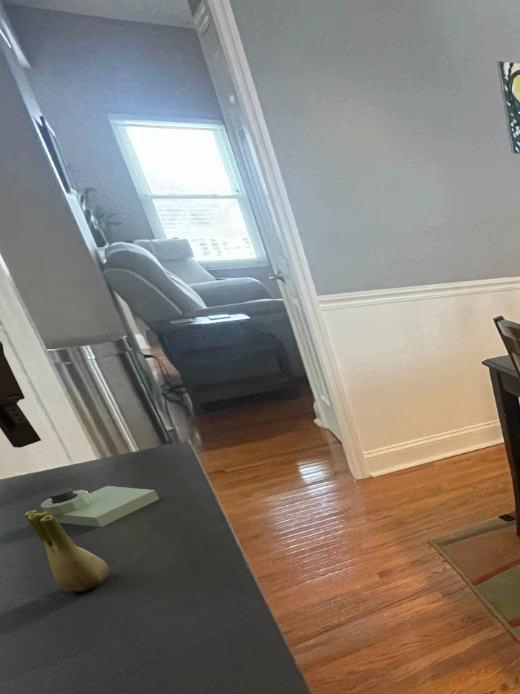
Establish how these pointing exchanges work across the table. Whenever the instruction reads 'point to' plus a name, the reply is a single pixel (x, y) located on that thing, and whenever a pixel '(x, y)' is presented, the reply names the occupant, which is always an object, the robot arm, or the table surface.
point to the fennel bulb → (67, 556)
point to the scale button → (62, 495)
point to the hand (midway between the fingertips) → (27, 443)
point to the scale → (99, 505)
